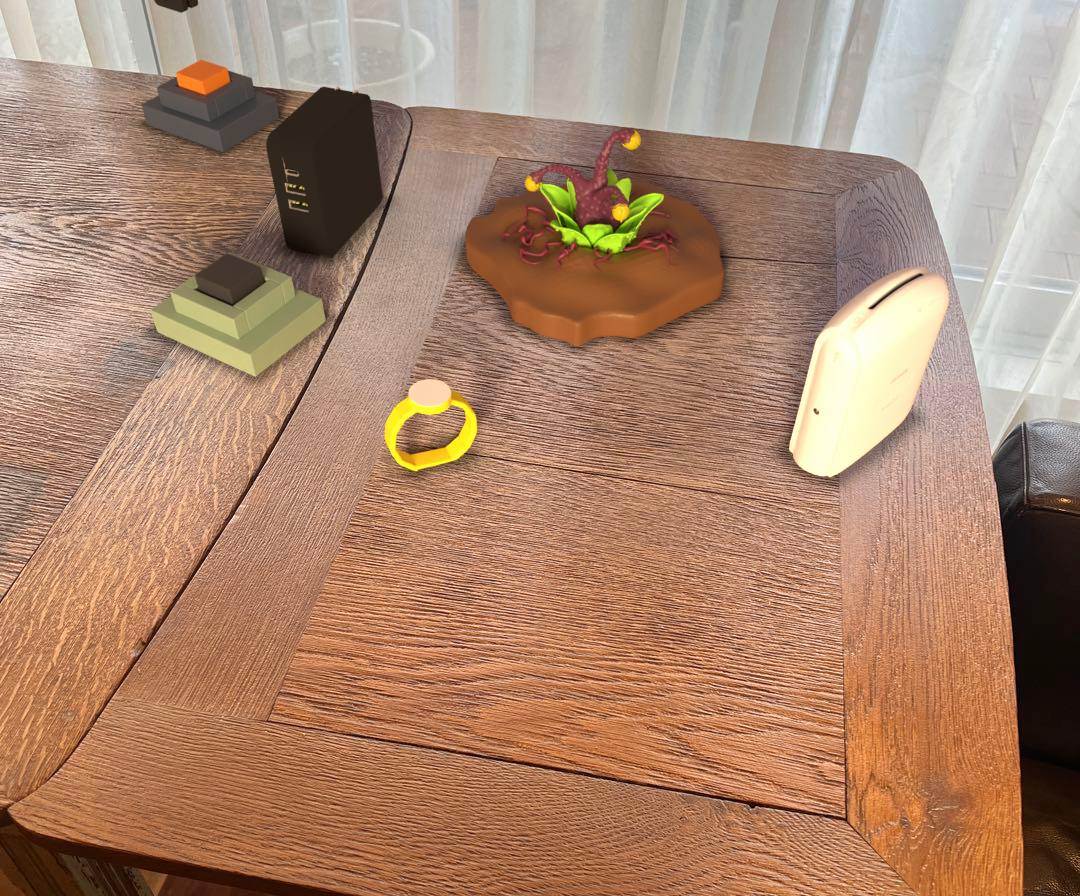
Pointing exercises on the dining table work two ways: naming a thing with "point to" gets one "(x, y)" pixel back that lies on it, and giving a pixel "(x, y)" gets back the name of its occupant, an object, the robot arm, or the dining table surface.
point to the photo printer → (867, 369)
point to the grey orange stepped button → (212, 112)
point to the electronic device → (325, 170)
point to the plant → (596, 253)
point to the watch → (430, 401)
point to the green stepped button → (241, 321)
